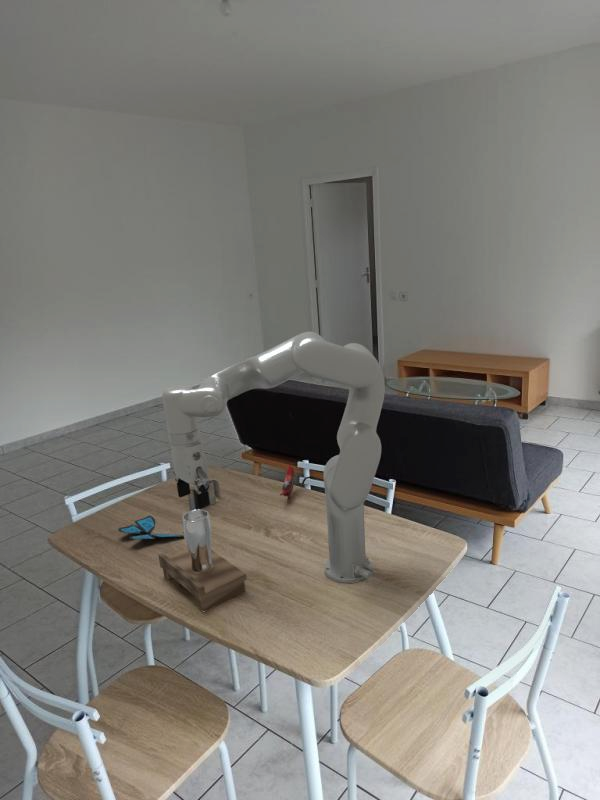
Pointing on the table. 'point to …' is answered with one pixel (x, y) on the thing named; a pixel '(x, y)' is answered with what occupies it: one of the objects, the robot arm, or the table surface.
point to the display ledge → (205, 578)
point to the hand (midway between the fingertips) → (194, 501)
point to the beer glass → (198, 540)
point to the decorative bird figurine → (288, 483)
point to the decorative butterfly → (147, 526)
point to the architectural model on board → (213, 492)
